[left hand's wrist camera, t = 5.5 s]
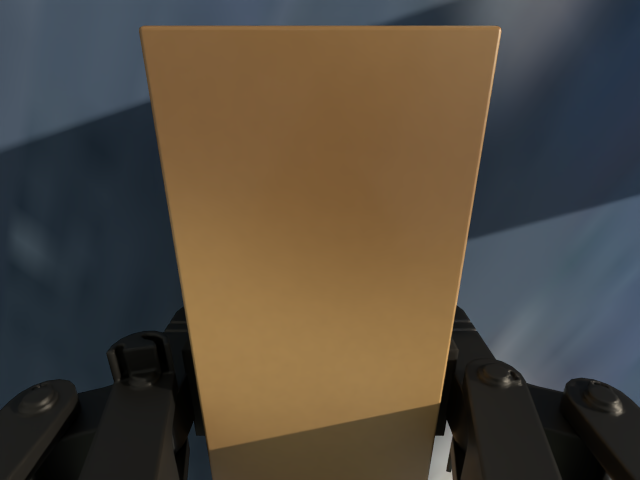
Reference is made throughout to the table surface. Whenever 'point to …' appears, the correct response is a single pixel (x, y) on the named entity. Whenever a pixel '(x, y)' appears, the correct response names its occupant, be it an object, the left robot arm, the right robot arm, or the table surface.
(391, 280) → the bar
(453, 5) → the table surface
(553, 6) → the table surface
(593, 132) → the table surface
